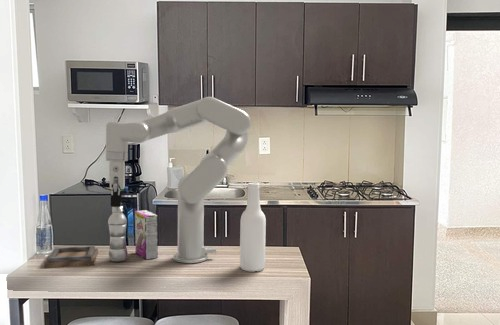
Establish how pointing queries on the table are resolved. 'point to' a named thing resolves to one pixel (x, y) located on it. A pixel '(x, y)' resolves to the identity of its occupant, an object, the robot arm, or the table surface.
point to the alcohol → (252, 232)
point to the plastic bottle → (117, 235)
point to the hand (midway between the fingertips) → (116, 204)
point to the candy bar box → (146, 234)
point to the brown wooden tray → (72, 256)
